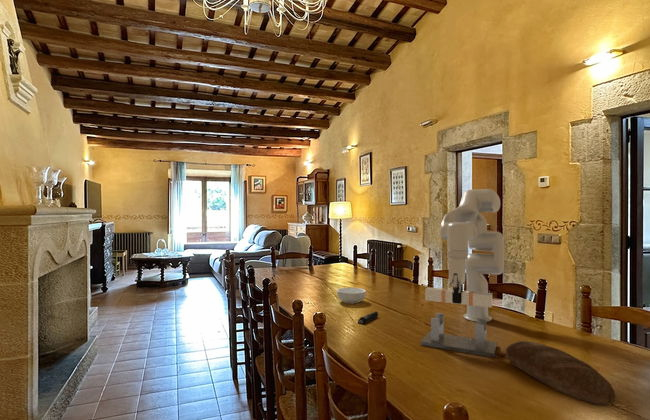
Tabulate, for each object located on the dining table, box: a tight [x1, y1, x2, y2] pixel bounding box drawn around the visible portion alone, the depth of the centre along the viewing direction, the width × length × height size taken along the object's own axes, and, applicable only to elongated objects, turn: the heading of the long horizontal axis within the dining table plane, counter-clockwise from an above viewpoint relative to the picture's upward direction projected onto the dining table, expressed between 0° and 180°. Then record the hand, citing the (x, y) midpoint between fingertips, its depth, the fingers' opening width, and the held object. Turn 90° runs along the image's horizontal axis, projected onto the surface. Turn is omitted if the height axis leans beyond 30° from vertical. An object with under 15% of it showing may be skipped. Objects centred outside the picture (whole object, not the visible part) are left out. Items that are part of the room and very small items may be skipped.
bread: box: [504, 340, 617, 406], centre depth 114 cm, size 16×36×8 cm, turn 12°
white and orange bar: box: [424, 286, 493, 308], centre depth 141 cm, size 24×5×5 cm, turn 61°
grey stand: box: [420, 312, 498, 359], centre depth 141 cm, size 13×26×10 cm, turn 61°
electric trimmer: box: [357, 311, 379, 325], centre depth 175 cm, size 4×16×3 cm, turn 143°
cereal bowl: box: [336, 287, 367, 305], centre depth 211 cm, size 17×17×7 cm
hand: (458, 301), depth 141 cm, fingers closed on white and orange bar, 4 cm apart
